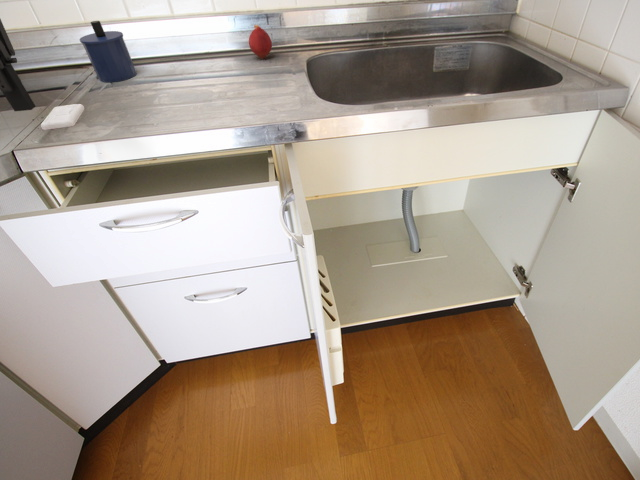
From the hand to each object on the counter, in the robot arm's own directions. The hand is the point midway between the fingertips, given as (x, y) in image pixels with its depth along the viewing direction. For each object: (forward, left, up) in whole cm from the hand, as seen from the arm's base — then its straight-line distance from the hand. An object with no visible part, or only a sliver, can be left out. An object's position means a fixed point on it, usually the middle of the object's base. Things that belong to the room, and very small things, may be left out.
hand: (25, 108), depth 65 cm
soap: (-7, +6, -8) cm, 12 cm away
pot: (-30, +25, -7) cm, 40 cm away
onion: (-11, +56, -8) cm, 58 cm away
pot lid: (-30, +25, +1) cm, 40 cm away
